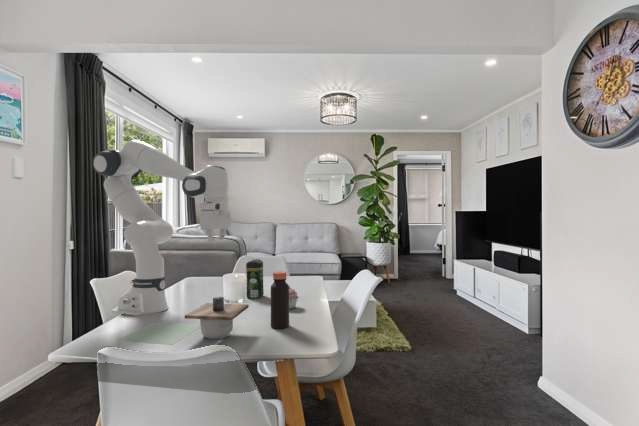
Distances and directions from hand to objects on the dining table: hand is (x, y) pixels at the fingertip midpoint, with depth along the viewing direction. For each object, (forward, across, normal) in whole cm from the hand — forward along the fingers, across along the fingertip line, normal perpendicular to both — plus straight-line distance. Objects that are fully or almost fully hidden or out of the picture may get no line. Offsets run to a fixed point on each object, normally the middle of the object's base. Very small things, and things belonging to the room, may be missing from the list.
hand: (216, 240), depth 145 cm
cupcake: (+31, -20, +24) cm, 44 cm away
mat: (+31, +21, -10) cm, 39 cm away
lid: (+23, +19, +10) cm, 32 cm away
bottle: (+31, +6, +28) cm, 42 cm away
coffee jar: (+31, -37, +2) cm, 49 cm away
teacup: (+31, +19, +10) cm, 38 cm away
